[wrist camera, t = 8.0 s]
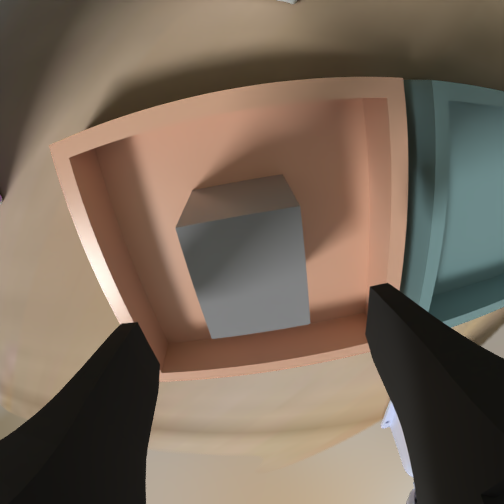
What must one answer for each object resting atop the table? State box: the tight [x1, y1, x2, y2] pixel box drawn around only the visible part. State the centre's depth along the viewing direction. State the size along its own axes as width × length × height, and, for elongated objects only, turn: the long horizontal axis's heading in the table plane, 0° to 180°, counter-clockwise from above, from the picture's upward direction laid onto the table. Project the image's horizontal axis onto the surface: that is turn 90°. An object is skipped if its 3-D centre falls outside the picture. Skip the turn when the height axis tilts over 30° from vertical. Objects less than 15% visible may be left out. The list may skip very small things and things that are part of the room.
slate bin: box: [399, 80, 504, 328], centre depth 13 cm, size 14×14×3 cm
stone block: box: [175, 174, 310, 339], centre depth 12 cm, size 5×4×4 cm
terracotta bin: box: [49, 77, 408, 382], centre depth 13 cm, size 14×14×3 cm
